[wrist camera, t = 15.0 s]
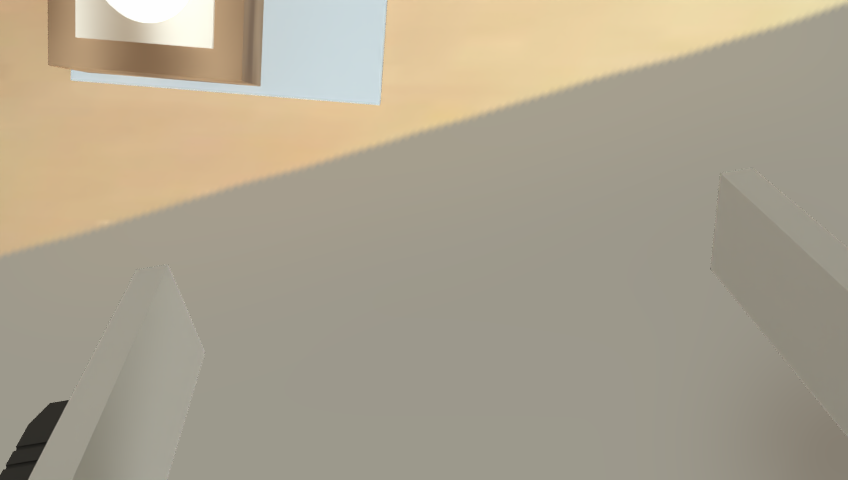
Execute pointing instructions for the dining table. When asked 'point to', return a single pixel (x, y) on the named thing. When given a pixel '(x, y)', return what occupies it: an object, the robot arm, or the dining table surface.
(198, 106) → the dining table surface
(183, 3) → the chess piece
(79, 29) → the walnut plinth
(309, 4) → the pale blue board
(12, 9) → the dining table surface
